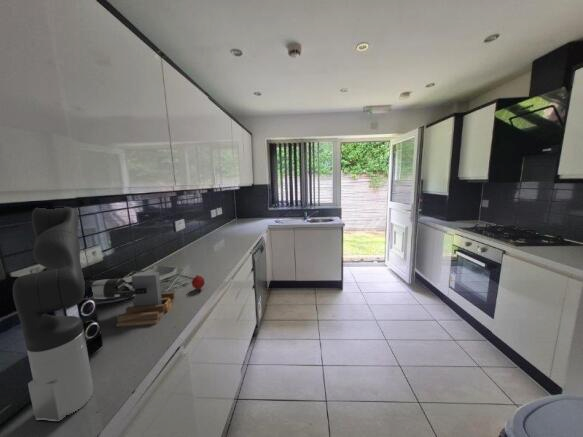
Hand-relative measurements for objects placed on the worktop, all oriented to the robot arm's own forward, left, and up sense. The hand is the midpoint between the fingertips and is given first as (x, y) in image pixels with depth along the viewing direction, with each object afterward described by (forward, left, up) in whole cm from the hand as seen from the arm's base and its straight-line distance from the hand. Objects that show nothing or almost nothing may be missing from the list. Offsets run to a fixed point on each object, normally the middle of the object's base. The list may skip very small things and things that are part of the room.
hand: (151, 285), depth 94 cm
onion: (+20, -10, -11) cm, 24 cm away
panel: (0, +2, -10) cm, 10 cm away
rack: (0, +2, -11) cm, 11 cm away
